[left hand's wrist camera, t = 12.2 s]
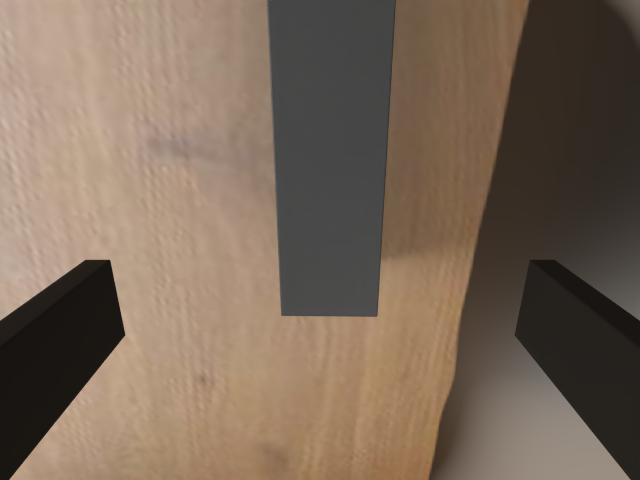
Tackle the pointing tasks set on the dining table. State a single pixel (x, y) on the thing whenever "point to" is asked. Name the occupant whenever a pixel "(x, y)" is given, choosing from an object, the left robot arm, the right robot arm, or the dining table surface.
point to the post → (330, 150)
